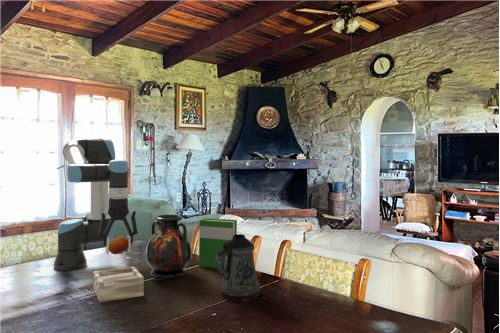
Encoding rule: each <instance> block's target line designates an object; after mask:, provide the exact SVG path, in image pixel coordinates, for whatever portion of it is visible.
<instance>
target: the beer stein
mask: <svg viewBox="0 0 500 333" xmlns="http://www.w3.org/2000/svg"><path fill="white" fill-rule="evenodd" d="M255 247H256V246H255V245H254V243H252V242H251V241H250V240H249V239H248V238H247V237H246V235H245V234H240V233H238V234H236V235H233V238H232V239H231V240H230V241H227V242H224V243H223V249H221V250H220V251H219V252H218V254H217V256H216V267H217V268H216V269H217V271H218V272H219V275H220V276H221V277H222V281H221V284H220V285H219V291H220V296H222V297H221V298H222V299H225V300H226V299H227V301H229V300H232V301H231V302H235V301H246V302H248V301H247V300H251V299H254V298H256V297H257V296H258V297H259V292H260V289H261V288H260V284H259V280H258V276H257V273H256V271H257V270H256V265H255V258H254V251H255ZM225 256H226V260H225V266H223V260H224V257H225ZM258 297H257V298H258ZM257 298H256V299H257ZM254 300H255V299H254ZM251 301H252V300H251Z"/></svg>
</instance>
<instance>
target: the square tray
mask: <svg viewBox="0 0 500 333" xmlns="http://www.w3.org/2000/svg"><path fill="white" fill-rule="evenodd" d="M92 273H93V282H92V284H93V288H92V289H93V291H94V293H95V295H96V297H97V299H98V301H99V303H103V302H105V303H106V302H111V301H116V300H117V301H118V300H124V299H128V298H129V299H130V298H136V297H143V296H145V295H144V292H145V288H144V287H145V285H144V283H145V282H144V280H145V279H144V278H145V277H144V275H142V273H140V271H139V270H138V269H137V268H136V267H135V266H129V267H128V266H127V267H121V268H120V267H119V268H111V269H104V270H103V269H102V270H95V271H94V270H93V272H92Z"/></svg>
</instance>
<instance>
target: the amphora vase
mask: <svg viewBox="0 0 500 333" xmlns="http://www.w3.org/2000/svg"><path fill="white" fill-rule="evenodd" d="M154 218H155V221H153V222H152V225H151V236H150V239H149V240H148V241H147V242H148V243H147V244H146V248H145V261H146V263H147V265H148V266H149V268H151V271H150V275H151V276H152V277H153V278H155V279H158V280H159V279H160V280H174V279H178V278H182V277H183V276H185V275H186V273H187V270H186V267H187V266H188V264H189V263H190V261H191V258H192V247H191V242H190V241H189V239H188V236H187V235H188V234H187V233H188V230H187V226H186V224H185V223H183V222H181V221H182V220H183V219H184V218H183V216H182V215H179V214H161V215H160V214H159V215H157V216H155V217H154ZM179 222H180V223H179ZM156 225H157V226H158V228H157V230H156ZM180 227H182V230H181V229H180Z"/></svg>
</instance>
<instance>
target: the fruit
mask: <svg viewBox="0 0 500 333" xmlns="http://www.w3.org/2000/svg"><path fill="white" fill-rule="evenodd" d="M127 248H128V240H127V237H125V236H121V235H120V236H116V237H113V239H112V240H111V241H110V242H109V253H110V254H113V255H123V253H124V252H127V253H128V251H127Z"/></svg>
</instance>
